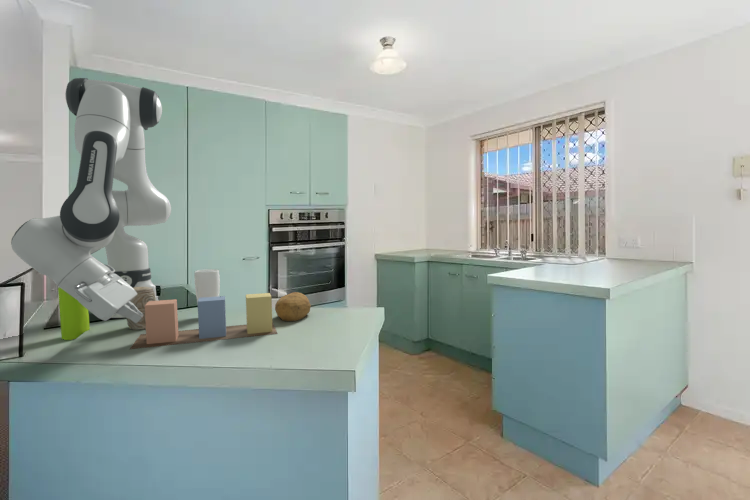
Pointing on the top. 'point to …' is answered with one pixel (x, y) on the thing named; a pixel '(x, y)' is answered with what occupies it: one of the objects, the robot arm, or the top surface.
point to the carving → (141, 306)
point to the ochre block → (259, 313)
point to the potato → (292, 307)
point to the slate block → (211, 317)
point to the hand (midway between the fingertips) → (140, 319)
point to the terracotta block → (161, 321)
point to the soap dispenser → (72, 316)
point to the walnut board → (193, 337)
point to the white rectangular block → (207, 283)
